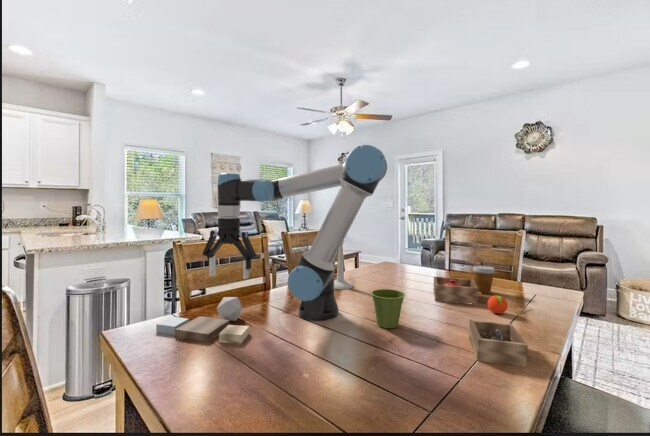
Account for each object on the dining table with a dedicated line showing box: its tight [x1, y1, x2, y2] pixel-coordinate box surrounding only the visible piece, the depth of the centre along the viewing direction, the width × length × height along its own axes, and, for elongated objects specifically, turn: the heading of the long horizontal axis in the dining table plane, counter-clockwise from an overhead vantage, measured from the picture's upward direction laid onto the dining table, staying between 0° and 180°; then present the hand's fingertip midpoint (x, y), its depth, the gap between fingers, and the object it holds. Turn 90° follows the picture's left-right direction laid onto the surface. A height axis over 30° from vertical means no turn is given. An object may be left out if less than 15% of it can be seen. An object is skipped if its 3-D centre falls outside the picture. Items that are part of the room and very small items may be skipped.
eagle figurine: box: [478, 329, 503, 341], centre depth 95 cm, size 8×8×10 cm
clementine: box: [486, 294, 508, 314], centre depth 128 cm, size 8×7×7 cm
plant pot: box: [370, 288, 406, 329], centre depth 115 cm, size 12×12×11 cm
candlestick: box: [334, 239, 354, 291], centre depth 164 cm, size 13×13×30 cm
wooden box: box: [433, 276, 479, 305], centre depth 148 cm, size 17×16×7 cm
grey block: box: [155, 316, 190, 336], centre depth 110 cm, size 7×7×3 cm
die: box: [216, 296, 243, 322], centre depth 119 cm, size 8×9×10 cm
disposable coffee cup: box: [472, 264, 496, 294], centre depth 156 cm, size 10×10×12 cm
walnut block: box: [174, 315, 231, 343], centre depth 108 cm, size 12×12×3 cm
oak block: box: [218, 324, 250, 344], centre depth 104 cm, size 7×7×3 cm
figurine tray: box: [468, 319, 528, 368], centre depth 96 cm, size 12×15×6 cm
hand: (229, 276), depth 118 cm, fingers open, 13 cm apart
